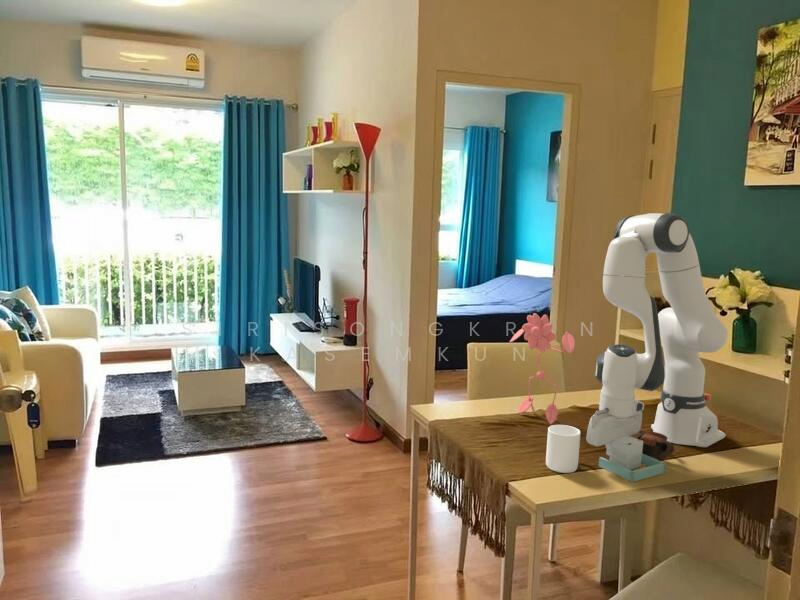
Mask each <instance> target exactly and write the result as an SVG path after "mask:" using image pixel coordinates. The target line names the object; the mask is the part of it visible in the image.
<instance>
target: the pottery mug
mask: <svg viewBox="0 0 800 600" xmlns="http://www.w3.org/2000/svg"><path fill="white" fill-rule="evenodd" d="M635 438H636V439H639V440H642V441H643V449H642V454H644V455H647V456H649V457H652V458H654V459H656V460H659V459H660V460H661V461H663V460H665V459H666V458H668V457H670V456H671V455H672V454H673V453H674V450H675V447H674V443H671V442H669V441H667V437H666V436H665V435H663V434H660V433H657V432H653V430H652V431H651V430H639V435H637V436H636V437H635ZM658 458H659V459H658Z"/></svg>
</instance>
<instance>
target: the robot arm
mask: <svg viewBox="0 0 800 600" xmlns="http://www.w3.org/2000/svg"><path fill="white" fill-rule="evenodd" d="M652 253H655V255H656V262H657V263H656V264H657V269H658V275H659V276H658V277H659V280H660V286H661V291H662V296H663V297H664V299H665V300H666V301H667V302H668V304H669V305H670V307H665V308H663V309H661V311H660V310H659V311H658V307H657V303H656V300H655V298H654V297H653V296H652V295H650V294H649V292H648V290H647V288H646V283H645V281H646V259H647V257H648V255H649V254H652ZM602 292H603V296H604V297H605V299H606V300H607V301H608V302H609V303H610V304H612V305H613V306H614V307H616V308H618V309H620V310H623V311H625V312H626V313H630V314H632V315H634V316H635V317H637V318H638V320H640V322H641V324H642V328H643V337H644V338H643V339H644V348H645V352H644V353H637V351H636V349H635V348H634V347H632V346H629V345H626V344H617V343H616V344H613V345H609V346H608V347H607V349H606V351H603V352H601V353H600V354H598V356H596V358H595V361H596V365H595V372H594V378H595V379H597V380H598V382H599V383H600V384H602V388H601V390H600V396H599V404H598V409H599V410H596V411H595V412H594V414H593V415H591V417H590V419H589V422H588V426H587V432H586V442H587V444H589V445H591V446H595V447H600V446H601V447H602V446H603V445H604V446H605V448H606V451H605V453H606V455H607V456H609V457H610V450H611V442H613V439H615V438H617V437H620V436H623V435H628V436H631V437H632V436H634V435H636V434H639V433H640V431H641V428H642V423H643V422H642V421H643V411H644V409H645V403H644V402H643V401H639V400H636V394H635V389H639V390H644V391H649V392H653V391H656V390H657V389H659V388H660V387H661V386H662V385H663V386H662V387H663V388H662V389H661V392H660V403H658V405H657V409H656V413H655V419H654V423H652V424H650V425H651V426H650V428H651V429H652V432H657V433H660V434H663V435H665V436H666V437H667V441H669V442H671V443H672V444H676V445H683V446H684V445H685V446H696V447H700V448H708V447H709V446H712V445H714V444H715V443H717V442H718V441H720V440H723V439H725V438H726V432H723V431H721V430H720V429H718V425H719V424H718V423H719V422H718V421H719V420H718V419H719V418H718V417H717V415H716V414H715V413H713V411H711V410H710V409H709V408H708V407H707V403H706V401H708V402H710V401H711V400H712V394H710V393H706V392H704V387H705V377H706V369H705V365H704V363H703V362H702V360H701V358H700V354H699V353H707V354H713V353H716V352H719V351H720V350H721V349H723V348H724V346H725V344H726V343H727V340H728V329H727V327H726V325H725V324H724V323H723V322H722V320H721V319H720V318H719V317H718V315H716V313H715V311H714V308H713V307H712V304H711V302H710V300H709V298H708V295H707V294H706V293H707V292H706V290H705V286H704V284H703V277H702V272H701V266H700V261H699V256H698V251H697V249H696V245H695V241H694V240H693V238H692V234H690V230H689V225H688V223H687V221H686V220H685V218H684V217H682V216H681V215H679V214H676V213H671V212H668V213H662V212H661V213H659V212H653V213H652V212H651V213H645V214H639V215H638V214H637V215H633V214H632V215H628V216H625V217H624V218H622V219H620V220H619V221H618V223H617V224H616V226H615V228H614V232H613V239H612V240H611V241H610V242H609V245H608V247H607V252H606V256H605V260H604V265H603V276H602ZM663 357H664V358H663Z"/></svg>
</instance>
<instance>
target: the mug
mask: <svg viewBox="0 0 800 600" xmlns="http://www.w3.org/2000/svg"><path fill="white" fill-rule="evenodd" d="M547 430H548V431H547V439H546V453H545V465H546V467H547V468H548V470H551V471H552V472H557V473H560V474H571V473H574V472H576V470H577V469H578V468H579V456H580V443H581V430H580V429H578V428H576V427H574V426H572V425H571V426H570V425H567V424H566V425H565V424H553V425H552V424H551V425H550V426H549V427H547Z"/></svg>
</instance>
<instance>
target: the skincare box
mask: <svg viewBox="0 0 800 600" xmlns="http://www.w3.org/2000/svg"><path fill="white" fill-rule="evenodd" d="M636 438H637V437H633V436H632V435H631V436H628V435H623V436H620V437H617V438H615V439H613V442H611V450H610V456H609V461H611V462H613V463H616V464H618V465H620V466H622V467H624V468H627V469H629V470H631V471H634V470H635V469H637V468H639V467H641V466H642V465H641V464H642V463H641V458H642V449H643V441H642V440H639V439H636Z"/></svg>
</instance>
